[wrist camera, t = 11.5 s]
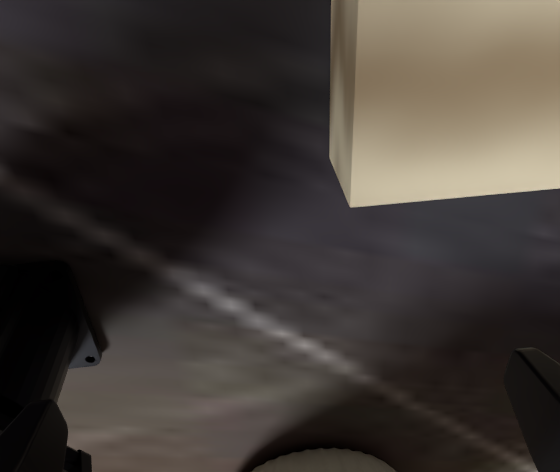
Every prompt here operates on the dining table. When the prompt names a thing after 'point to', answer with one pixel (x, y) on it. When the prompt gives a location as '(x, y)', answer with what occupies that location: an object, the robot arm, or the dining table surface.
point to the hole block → (444, 98)
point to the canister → (325, 462)
